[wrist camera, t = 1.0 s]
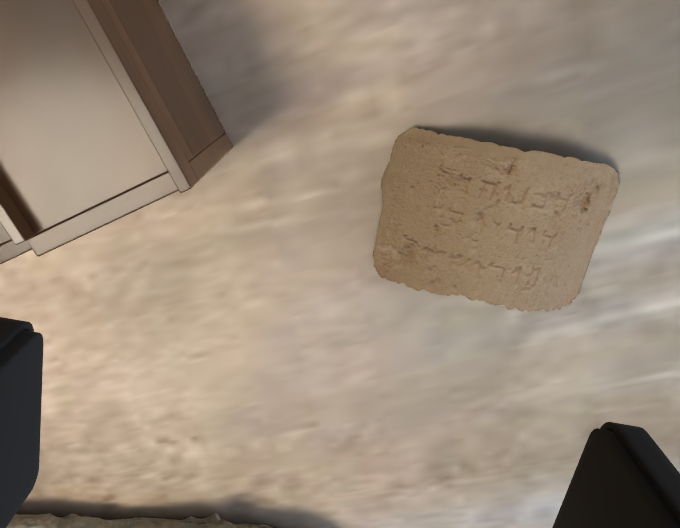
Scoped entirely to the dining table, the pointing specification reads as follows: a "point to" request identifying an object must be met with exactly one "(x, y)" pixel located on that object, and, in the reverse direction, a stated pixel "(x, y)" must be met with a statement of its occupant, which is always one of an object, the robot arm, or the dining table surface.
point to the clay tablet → (490, 220)
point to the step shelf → (94, 118)
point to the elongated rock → (121, 522)
